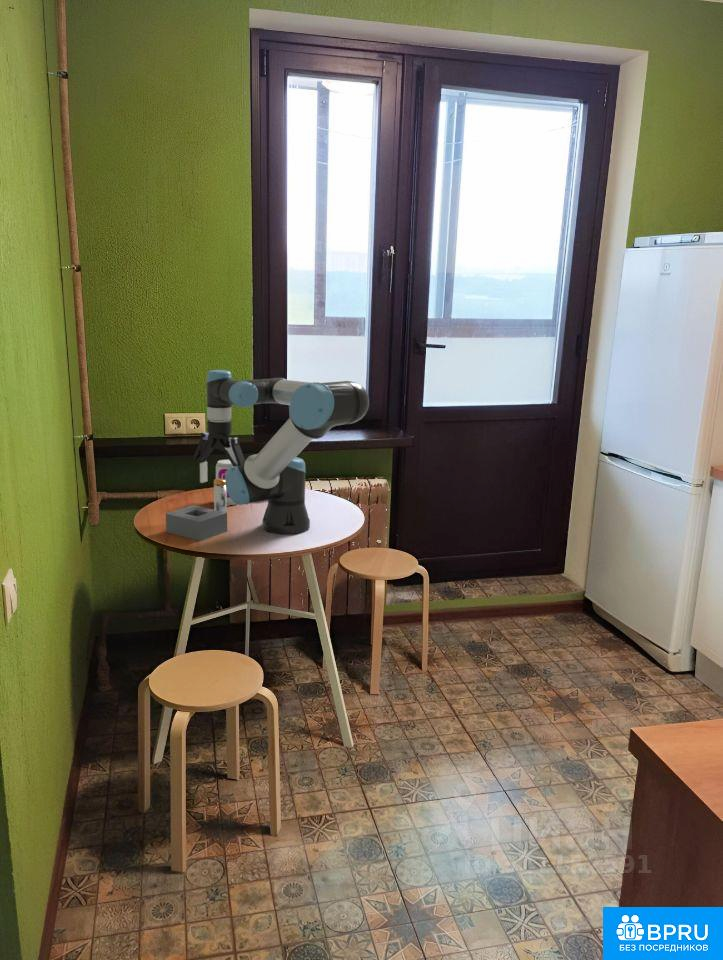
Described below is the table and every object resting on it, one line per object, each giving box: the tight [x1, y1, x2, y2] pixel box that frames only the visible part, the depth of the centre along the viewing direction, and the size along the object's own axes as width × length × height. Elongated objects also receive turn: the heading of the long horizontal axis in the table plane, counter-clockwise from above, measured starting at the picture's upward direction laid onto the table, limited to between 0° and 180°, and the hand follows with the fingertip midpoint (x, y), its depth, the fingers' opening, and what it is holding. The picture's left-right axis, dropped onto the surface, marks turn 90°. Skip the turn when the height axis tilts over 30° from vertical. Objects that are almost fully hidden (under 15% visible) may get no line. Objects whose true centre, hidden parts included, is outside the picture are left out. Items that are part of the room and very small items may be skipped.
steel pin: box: [213, 478, 228, 514], centre depth 237 cm, size 4×4×14 cm
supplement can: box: [215, 459, 237, 507], centre depth 259 cm, size 8×8×15 cm
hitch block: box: [165, 504, 228, 542], centre depth 228 cm, size 14×12×6 cm
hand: (219, 485), depth 236 cm, fingers open, 13 cm apart
